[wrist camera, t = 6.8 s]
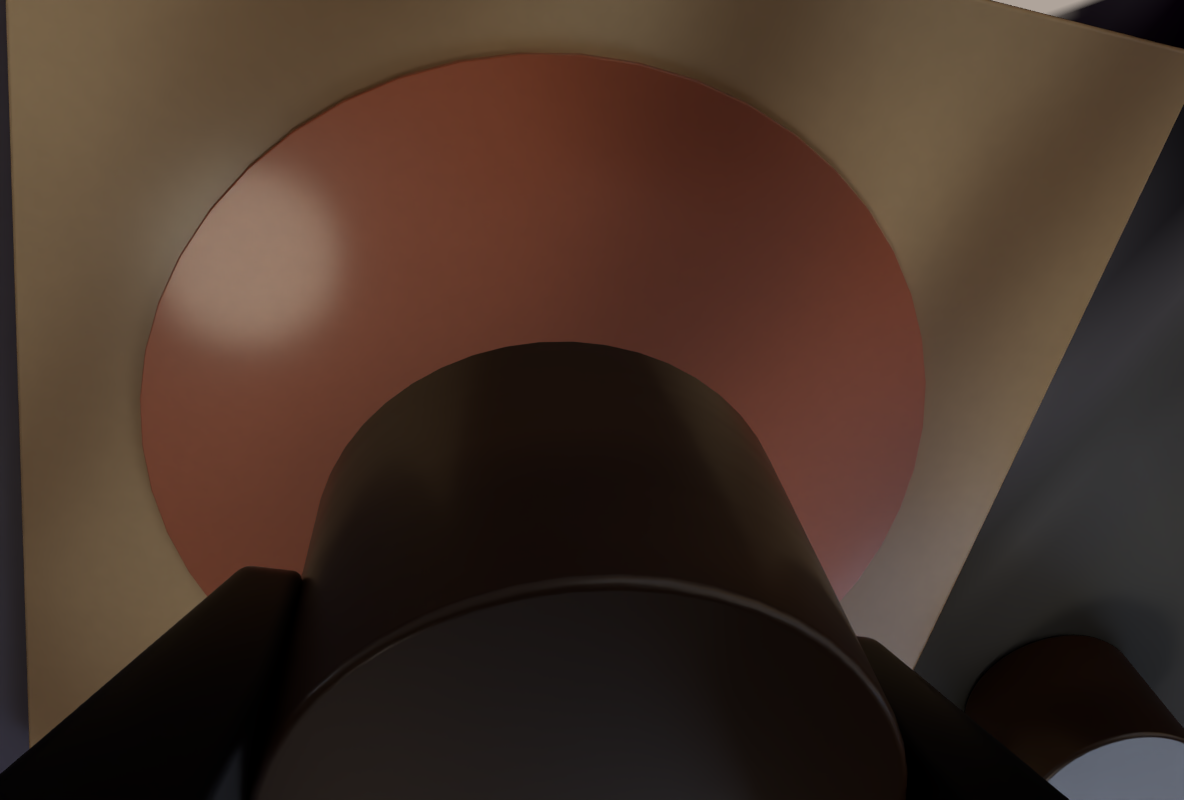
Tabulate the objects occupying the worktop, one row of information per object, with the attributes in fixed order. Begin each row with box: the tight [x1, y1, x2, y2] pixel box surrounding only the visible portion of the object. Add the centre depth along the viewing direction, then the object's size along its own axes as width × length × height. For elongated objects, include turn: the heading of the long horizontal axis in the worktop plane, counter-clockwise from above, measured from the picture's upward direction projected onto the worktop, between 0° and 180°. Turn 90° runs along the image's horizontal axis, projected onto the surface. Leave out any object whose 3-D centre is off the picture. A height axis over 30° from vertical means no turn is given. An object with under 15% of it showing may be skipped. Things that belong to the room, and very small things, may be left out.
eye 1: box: [965, 635, 1184, 800], centre depth 22 cm, size 4×4×3 cm
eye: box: [247, 342, 908, 800], centre depth 7 cm, size 4×4×3 cm
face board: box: [6, 0, 1184, 748], centre depth 19 cm, size 18×18×1 cm
